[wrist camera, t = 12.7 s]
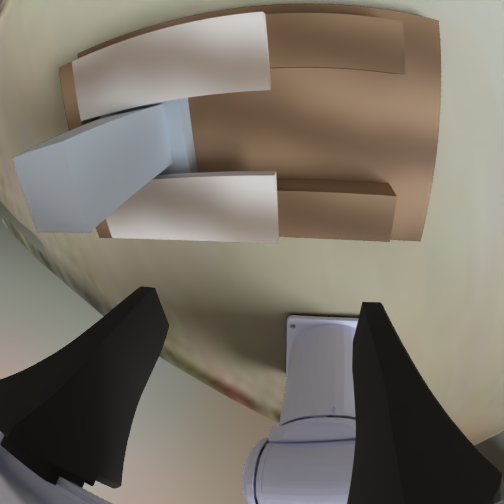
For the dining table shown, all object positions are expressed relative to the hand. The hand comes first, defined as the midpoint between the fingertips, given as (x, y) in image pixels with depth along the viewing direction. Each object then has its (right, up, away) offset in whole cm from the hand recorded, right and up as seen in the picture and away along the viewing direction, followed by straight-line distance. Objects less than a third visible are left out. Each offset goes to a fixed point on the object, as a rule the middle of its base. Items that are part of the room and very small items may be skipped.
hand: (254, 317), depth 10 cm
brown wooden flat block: (0, +10, +6) cm, 12 cm away
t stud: (-6, +10, +7) cm, 13 cm away
